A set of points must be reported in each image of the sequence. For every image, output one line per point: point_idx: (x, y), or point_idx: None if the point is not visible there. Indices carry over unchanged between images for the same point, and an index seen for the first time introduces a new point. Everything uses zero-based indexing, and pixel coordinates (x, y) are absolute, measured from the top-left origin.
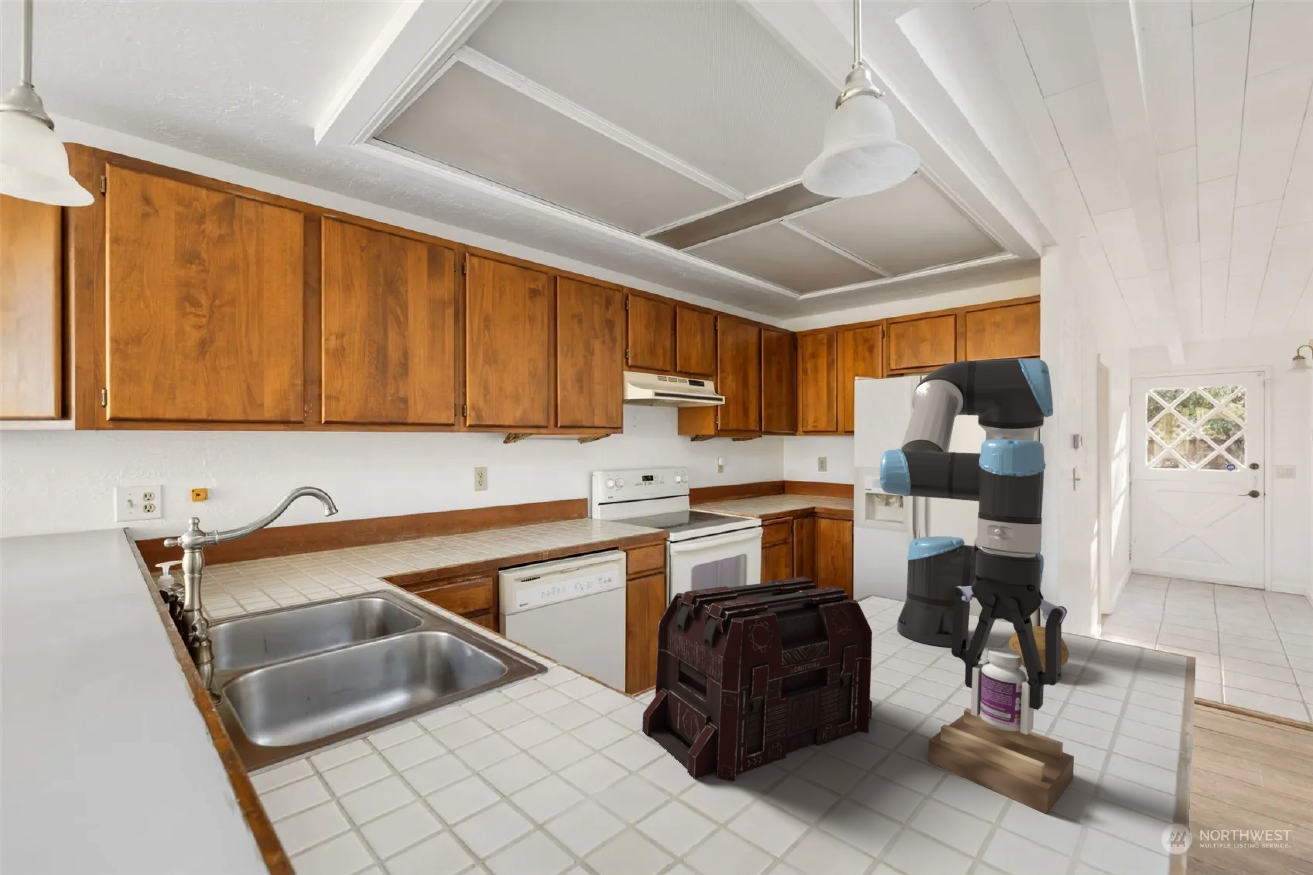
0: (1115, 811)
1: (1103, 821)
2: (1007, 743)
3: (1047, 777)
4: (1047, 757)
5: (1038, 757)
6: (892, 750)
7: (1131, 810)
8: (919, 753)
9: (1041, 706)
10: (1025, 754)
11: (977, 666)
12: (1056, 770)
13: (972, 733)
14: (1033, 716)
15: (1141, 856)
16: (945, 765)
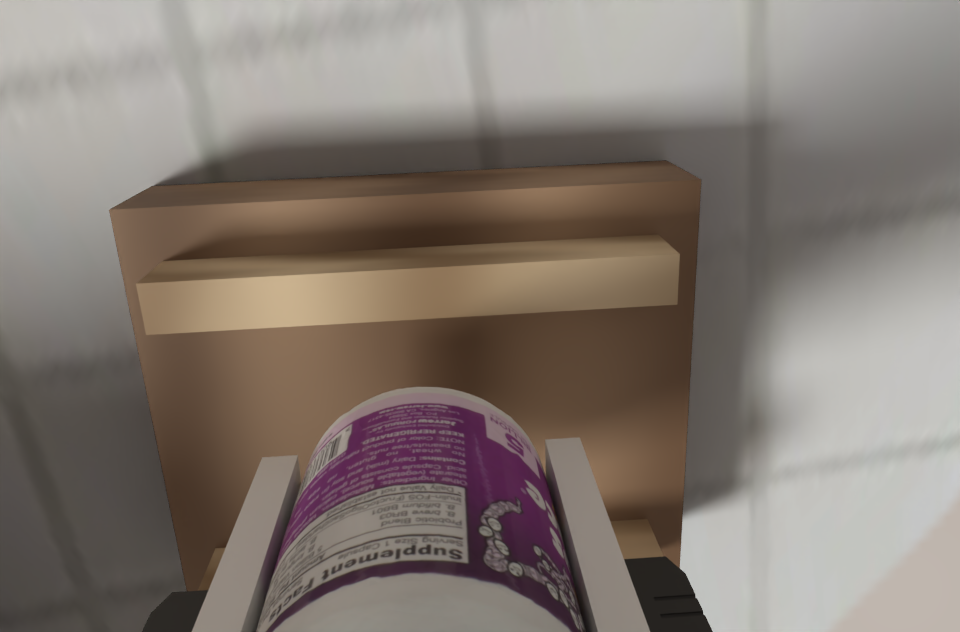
0: (832, 293)
1: (803, 404)
2: (429, 346)
3: (656, 503)
4: (610, 320)
5: (580, 358)
6: (88, 601)
7: (881, 228)
8: (161, 531)
9: (671, 563)
10: (529, 383)
11: None
12: (669, 410)
13: (271, 394)
14: (593, 476)
15: (910, 505)
16: None
